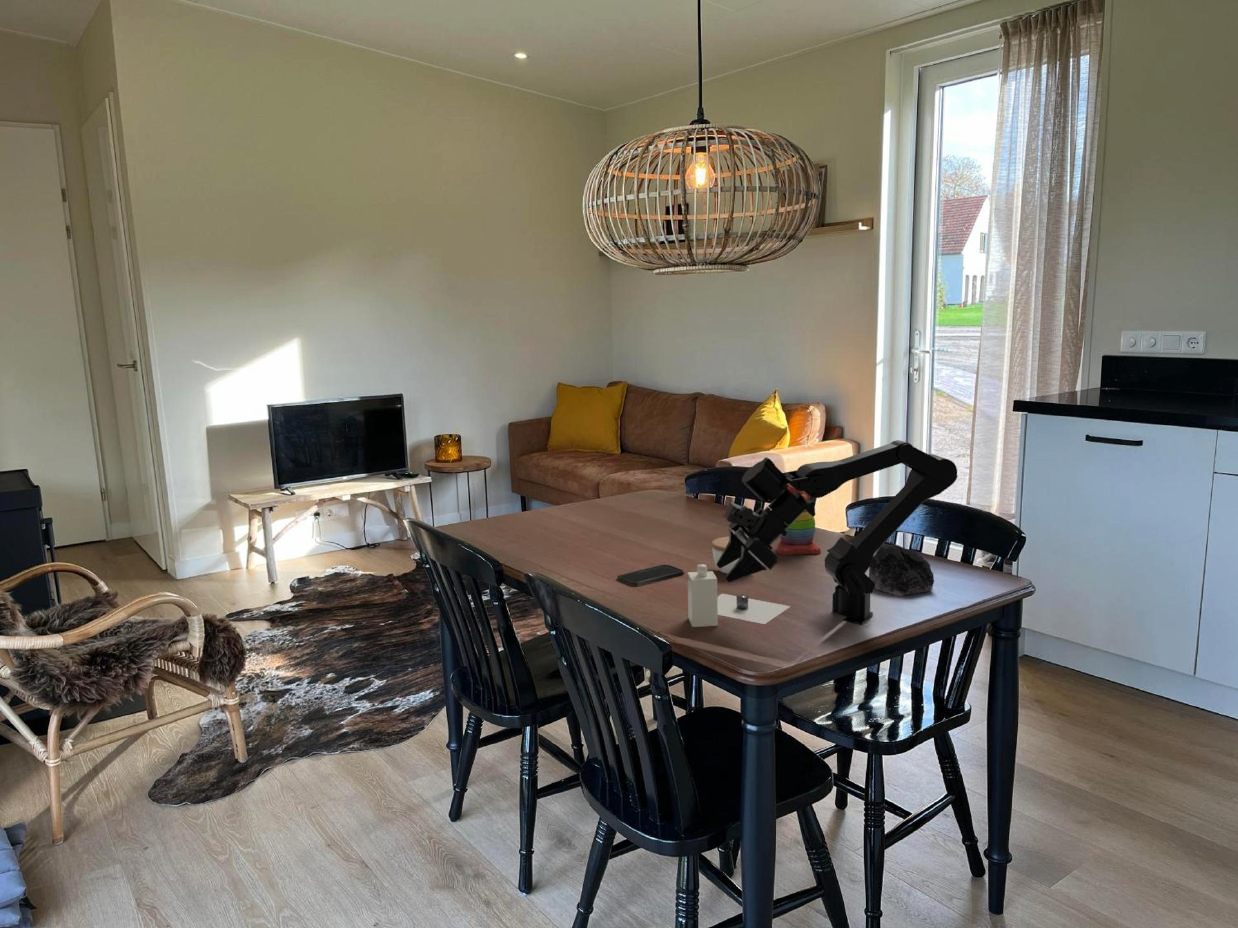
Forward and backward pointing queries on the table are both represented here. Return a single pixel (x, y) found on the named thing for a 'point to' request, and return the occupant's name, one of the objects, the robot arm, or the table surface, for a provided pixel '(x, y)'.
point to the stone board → (749, 609)
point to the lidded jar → (718, 549)
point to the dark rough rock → (900, 571)
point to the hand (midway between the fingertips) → (722, 573)
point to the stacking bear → (799, 534)
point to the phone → (650, 575)
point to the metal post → (742, 602)
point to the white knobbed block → (702, 597)
